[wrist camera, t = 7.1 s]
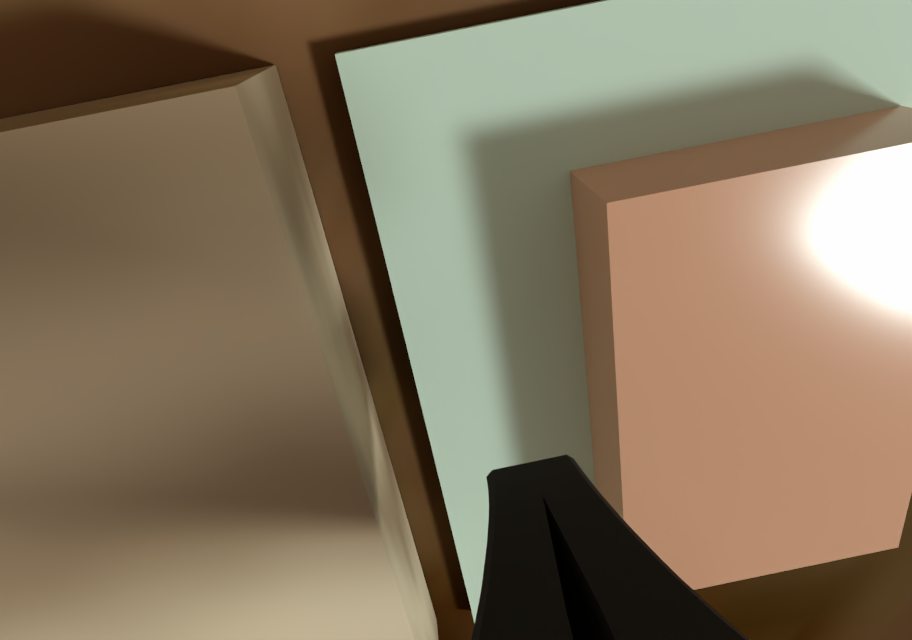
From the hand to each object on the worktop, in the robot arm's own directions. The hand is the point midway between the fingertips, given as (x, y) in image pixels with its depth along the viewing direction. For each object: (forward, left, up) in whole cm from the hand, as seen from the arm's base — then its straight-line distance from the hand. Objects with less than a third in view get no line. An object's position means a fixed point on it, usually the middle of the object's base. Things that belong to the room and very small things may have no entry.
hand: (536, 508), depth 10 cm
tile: (0, -5, -1) cm, 5 cm away
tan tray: (0, +9, -4) cm, 9 cm away
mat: (0, -3, -4) cm, 5 cm away
